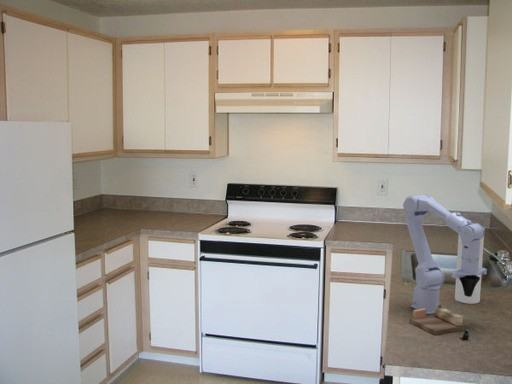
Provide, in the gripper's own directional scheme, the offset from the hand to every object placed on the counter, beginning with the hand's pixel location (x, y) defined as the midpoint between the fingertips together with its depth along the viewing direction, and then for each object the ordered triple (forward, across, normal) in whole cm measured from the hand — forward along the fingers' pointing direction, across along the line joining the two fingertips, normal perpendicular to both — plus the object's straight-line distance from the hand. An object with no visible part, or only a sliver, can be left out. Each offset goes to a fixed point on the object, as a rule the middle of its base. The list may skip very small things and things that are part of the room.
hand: (468, 295), depth 194 cm
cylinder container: (+11, +21, +20) cm, 31 cm away
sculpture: (+11, -10, -10) cm, 18 cm away
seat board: (+10, -10, +3) cm, 15 cm away
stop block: (+9, -14, +9) cm, 18 cm away
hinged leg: (+9, -7, +2) cm, 11 cm away
